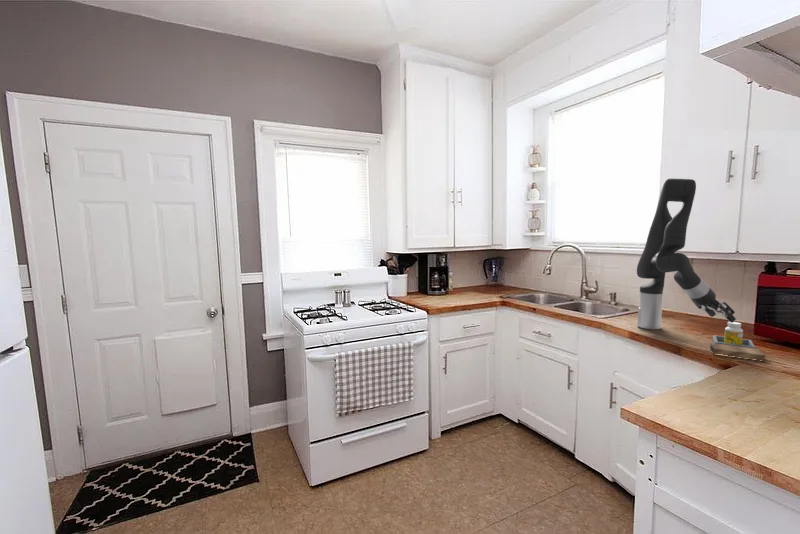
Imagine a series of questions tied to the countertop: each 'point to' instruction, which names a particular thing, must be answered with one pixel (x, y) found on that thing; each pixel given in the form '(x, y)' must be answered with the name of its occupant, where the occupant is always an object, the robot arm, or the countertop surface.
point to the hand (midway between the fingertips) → (723, 318)
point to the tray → (744, 344)
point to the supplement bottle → (733, 333)
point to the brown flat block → (737, 351)
